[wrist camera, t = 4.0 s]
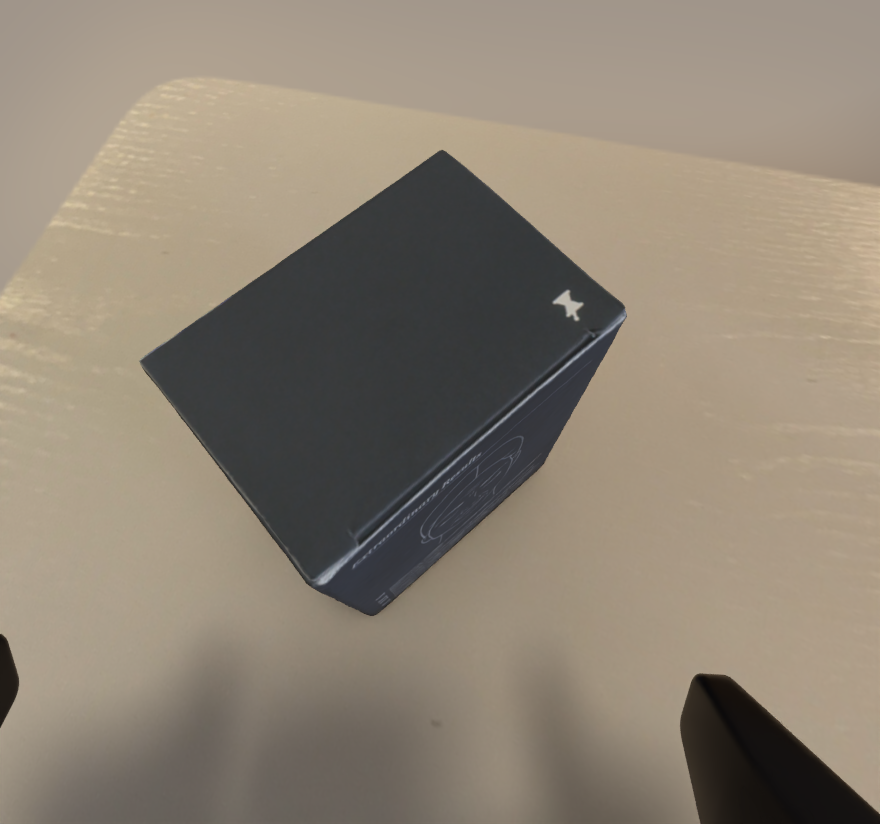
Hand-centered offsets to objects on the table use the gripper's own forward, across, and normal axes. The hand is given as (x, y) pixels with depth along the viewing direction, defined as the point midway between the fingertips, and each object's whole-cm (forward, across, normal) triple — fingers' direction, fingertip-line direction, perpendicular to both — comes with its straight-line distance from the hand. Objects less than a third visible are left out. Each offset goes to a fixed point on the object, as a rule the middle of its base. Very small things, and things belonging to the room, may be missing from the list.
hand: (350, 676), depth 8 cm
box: (+13, 0, +5) cm, 14 cm away
